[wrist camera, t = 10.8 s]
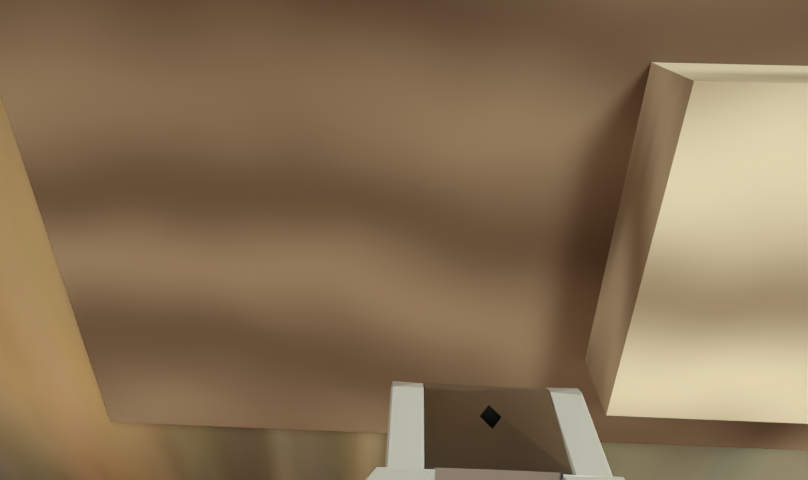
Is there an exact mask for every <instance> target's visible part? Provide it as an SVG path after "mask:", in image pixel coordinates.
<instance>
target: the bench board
mask: <svg viewBox="0 0 808 480" xmlns="http://www.w3.org/2000/svg"><path fill="white" fill-rule="evenodd" d="M651 62H660V63H703V64H747V65H790V66H808V0H0V94H1V97H2V100H3V103H4V106H5V109H6V112H7V115H8V118H9V121H10V124H11V127H12V130H13V133H14V136H15V139H16V142H17V145H18V148H19V151H20V154H21V157H22V160H23V163H24V166H25V169H26V172H27V175H28V178H29V181H30V184H31V187H32V190H33V192H34V195H35V198H36V201H37V204H38V207H39V210H40V213H41V216H42V219H43V222H44V225H45V228H46V231H47V234H48V237H49V240H50V243H51V246H52V249H53V252H54V255H55V258H56V261H57V264H58V267H59V270H60V273H61V276H62V279H63V282H64V285H65V288H66V291H67V294H68V297H69V300H70V303H71V306H72V309H73V312H74V315H75V318H76V321H77V324H78V327H79V330H80V333H81V336H82V339H83V342H84V345H85V348H86V351H87V354H88V357H89V360H90V363H91V366H92V369H93V372H94V375H95V378H96V381H97V384H98V387H99V390H100V393H101V395H102V398H103V401H104V404H105V407H106V410H107V413H108V416H109V419H110V422H121V423H146V424H171V425H196V426H221V427H245V428H270V429H295V430H320V431H345V432H369V433H388V421H389V407H390V393H391V386H392V382H393V381H400V382H414V383H423V386H424V382H426V383H442V384H457V385H473V386H507V387H541V388H578V389H579V390H580V391H581V393H582V394H583V397H584V400H585V402H586V405H587V408H588V411H589V413H590V416H591V419H592V421H593V424H594V427H595V430H596V432H597V435H598V438H599V440H600V442H617V443H642V444H667V445H692V446H717V447H741V448H766V449H791V450H808V424H800V423H776V422H752V421H728V420H703V419H679V418H655V417H631V416H606V414H605V411H604V409H603V406H602V404H601V401H600V399H599V396H598V394H597V391H596V389H595V386H594V384H593V381H592V379H591V376H590V374H589V371H588V369H587V366H586V363H585V357H586V353H587V348H588V344H589V339H590V335H591V330H592V326H593V322H594V317H595V313H596V308H597V304H598V299H599V295H600V290H601V286H602V281H603V277H604V272H605V268H606V263H607V259H608V254H609V250H610V245H611V241H612V236H613V232H614V227H615V223H616V218H617V214H618V209H619V205H620V200H621V196H622V191H623V187H624V183H625V178H626V174H627V169H628V165H629V160H630V156H631V151H632V147H633V142H634V138H635V133H636V129H637V124H638V120H639V115H640V111H641V106H642V102H643V97H644V93H645V88H646V84H647V79H648V75H649V70H650V66H651Z"/></svg>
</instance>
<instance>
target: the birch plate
mask: <svg viewBox="0 0 808 480" xmlns="http://www.w3.org/2000/svg"><path fill="white" fill-rule="evenodd" d="M585 363H586V366H587V369H588V371H589V374H590V376H591V379H592V381H593V384H594V386H595V389H596V391H597V394H598V396H599V399H600V401H601V404H602V406H603V409H604V411H605V414H606V416H631V417H655V418H679V419H703V420H728V421H752V422H776V423H800V424H808V66H790V65H747V64H703V63H660V62H651V66H650V70H649V75H648V79H647V84H646V88H645V93H644V97H643V102H642V106H641V111H640V115H639V120H638V124H637V129H636V133H635V138H634V142H633V147H632V151H631V156H630V160H629V165H628V169H627V174H626V178H625V183H624V187H623V191H622V196H621V200H620V205H619V209H618V214H617V218H616V223H615V227H614V232H613V236H612V241H611V245H610V250H609V254H608V259H607V263H606V268H605V272H604V277H603V281H602V286H601V290H600V295H599V299H598V304H597V308H596V313H595V317H594V322H593V326H592V330H591V335H590V339H589V344H588V348H587V353H586V357H585Z"/></svg>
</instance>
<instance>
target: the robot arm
mask: <svg viewBox="0 0 808 480" xmlns="http://www.w3.org/2000/svg"><path fill="white" fill-rule="evenodd" d="M365 480H626V479H624V478H623V477H613V476H612V473H611V470H610V468H609V465H608V462H607V460H606V457H605V454H604V451H603V449H602V446H601V443H600V440H599V438H598V435H597V432H596V430H595V427H594V424H593V421H592V419H591V416H590V413H589V411H588V408H587V405H586V402H585V400H584V397H583V394H582V393H581V391H580V390H579V389H578V388H541V387H507V386H473V385H457V384H442V383H426V382H424V386H423V383H414V382H400V381H393V382H392V386H391V393H390V407H389V421H388V435H387V449H386V463H385V467H375V468H374V469H373V470H372V472H371V473H370V474H369V475H368V476H367V478H366V479H365Z"/></svg>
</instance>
